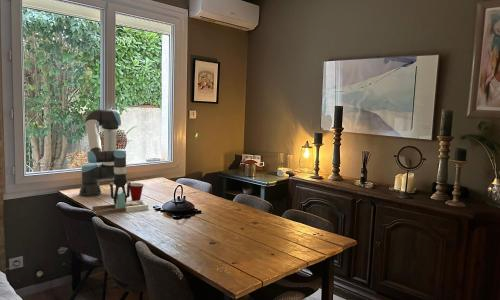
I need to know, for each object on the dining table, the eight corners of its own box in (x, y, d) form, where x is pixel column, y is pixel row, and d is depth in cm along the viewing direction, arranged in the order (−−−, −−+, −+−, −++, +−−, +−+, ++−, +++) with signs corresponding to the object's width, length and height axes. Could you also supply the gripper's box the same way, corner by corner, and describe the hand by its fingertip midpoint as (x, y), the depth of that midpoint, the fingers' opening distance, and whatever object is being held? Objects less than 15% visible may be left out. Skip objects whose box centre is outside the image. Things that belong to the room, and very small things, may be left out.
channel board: (92, 210, 247) (92, 206, 247) (121, 206, 257) (121, 203, 257) (96, 215, 237) (96, 211, 236) (126, 212, 246) (126, 208, 246)
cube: (130, 208, 255) (130, 202, 254) (136, 207, 257) (136, 201, 256) (131, 209, 251) (131, 204, 251) (138, 209, 253) (138, 203, 253)
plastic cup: (146, 200, 275) (146, 184, 273) (132, 202, 268) (131, 186, 267) (140, 197, 283) (140, 181, 282) (126, 199, 276) (126, 183, 275)
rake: (115, 208, 253) (115, 191, 251) (122, 207, 255) (121, 191, 253) (118, 211, 246) (118, 194, 245) (125, 210, 248) (124, 193, 247)
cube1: (123, 208, 254) (123, 202, 253) (129, 207, 256) (129, 201, 255) (125, 210, 250) (125, 204, 250) (131, 209, 253) (131, 203, 252)
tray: (121, 206, 257) (121, 202, 257) (142, 204, 265) (142, 200, 264) (126, 212, 246) (126, 207, 246) (148, 209, 254) (148, 204, 253)
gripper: (107, 175, 240) (108, 211, 243) (134, 173, 249) (135, 208, 252) (105, 173, 246) (105, 208, 249) (131, 171, 255) (132, 205, 258)
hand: (120, 208), depth 250 cm, fingers closed on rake, 4 cm apart
